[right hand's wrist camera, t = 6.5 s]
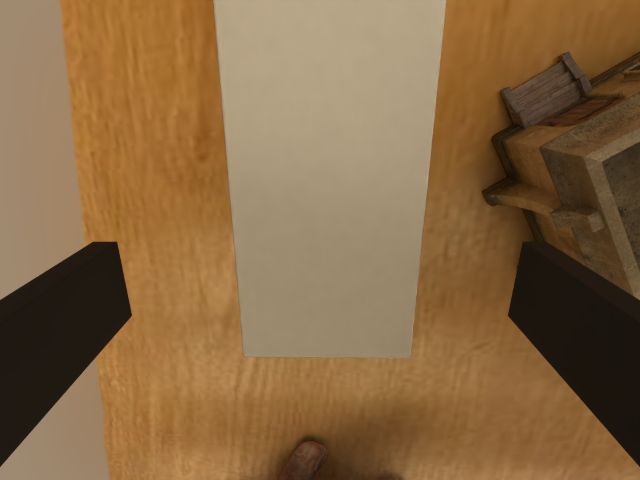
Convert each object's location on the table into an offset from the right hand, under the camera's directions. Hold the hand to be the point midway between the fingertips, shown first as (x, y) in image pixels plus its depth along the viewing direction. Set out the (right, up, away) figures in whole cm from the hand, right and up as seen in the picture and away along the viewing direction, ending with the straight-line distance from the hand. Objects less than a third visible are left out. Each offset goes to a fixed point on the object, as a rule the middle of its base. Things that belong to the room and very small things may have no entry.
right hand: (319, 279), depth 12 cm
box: (0, +11, +8) cm, 14 cm away
